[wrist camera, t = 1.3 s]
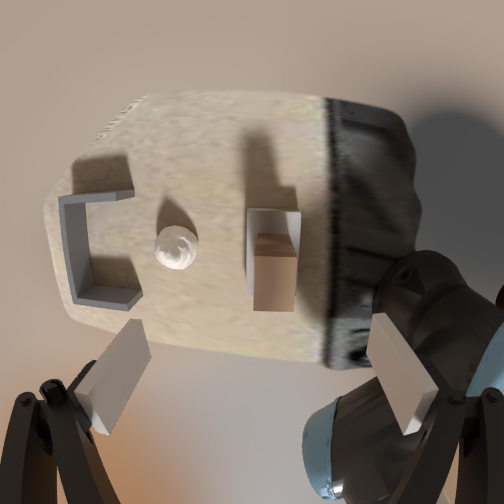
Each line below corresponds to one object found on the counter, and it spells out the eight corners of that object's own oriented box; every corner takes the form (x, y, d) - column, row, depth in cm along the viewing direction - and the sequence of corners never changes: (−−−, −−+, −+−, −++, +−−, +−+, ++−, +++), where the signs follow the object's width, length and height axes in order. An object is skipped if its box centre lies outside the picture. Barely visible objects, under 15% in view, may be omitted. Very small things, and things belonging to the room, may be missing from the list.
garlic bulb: (195, 251, 30) (174, 290, 31) (206, 238, 35) (187, 272, 37) (152, 225, 29) (134, 265, 31) (170, 216, 35) (153, 251, 36)
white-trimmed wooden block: (298, 209, 34) (314, 227, 22) (293, 286, 37) (304, 335, 25) (248, 207, 34) (239, 225, 23) (247, 284, 37) (239, 333, 25)
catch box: (134, 189, 34) (115, 192, 29) (142, 295, 38) (128, 311, 33) (79, 193, 35) (58, 197, 30) (90, 290, 39) (73, 303, 34)
